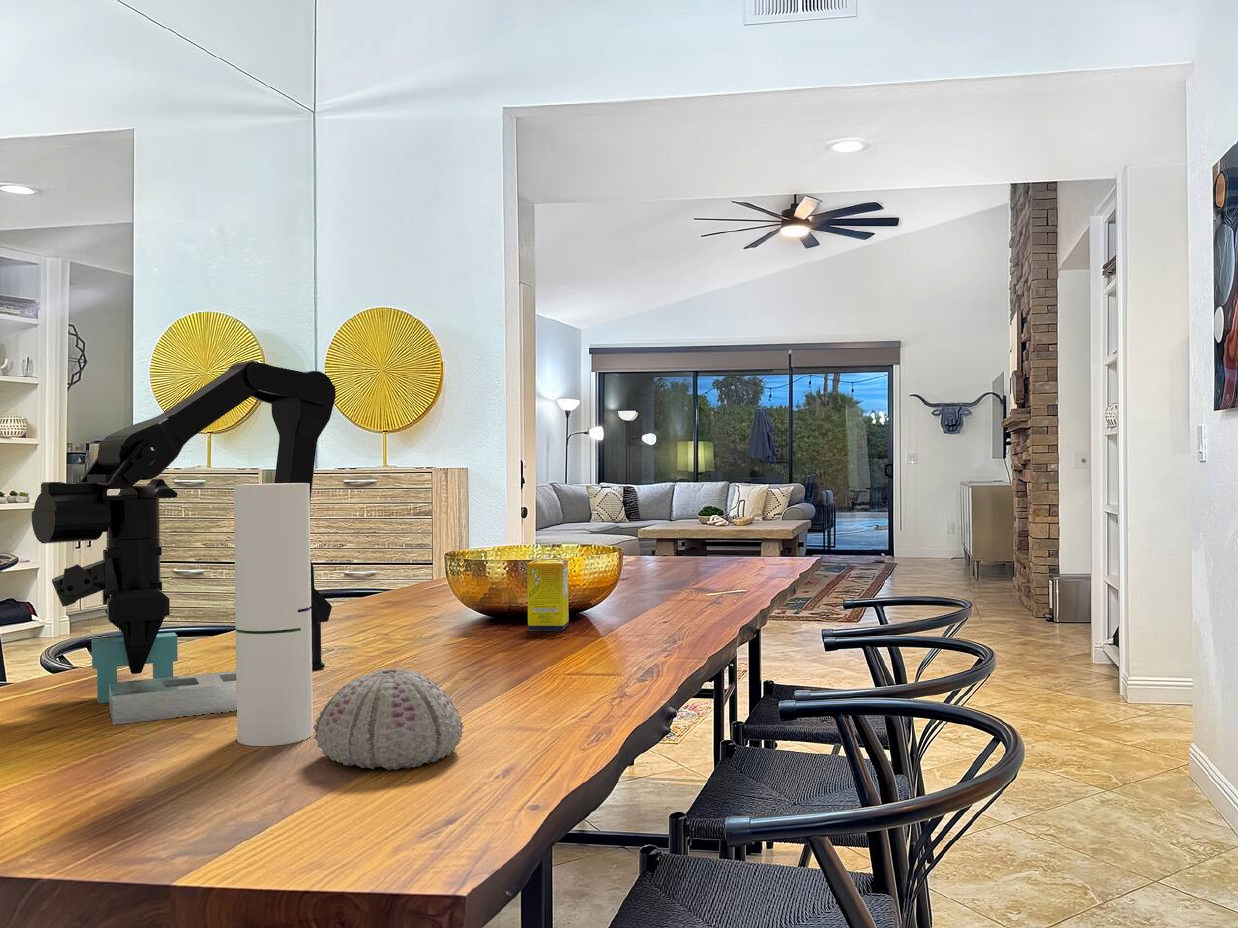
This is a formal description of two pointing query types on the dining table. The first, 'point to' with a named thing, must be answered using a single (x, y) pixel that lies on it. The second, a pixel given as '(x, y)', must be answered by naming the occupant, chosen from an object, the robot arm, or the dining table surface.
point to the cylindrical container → (273, 613)
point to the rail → (172, 697)
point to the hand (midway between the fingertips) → (135, 671)
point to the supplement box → (547, 595)
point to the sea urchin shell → (389, 721)
